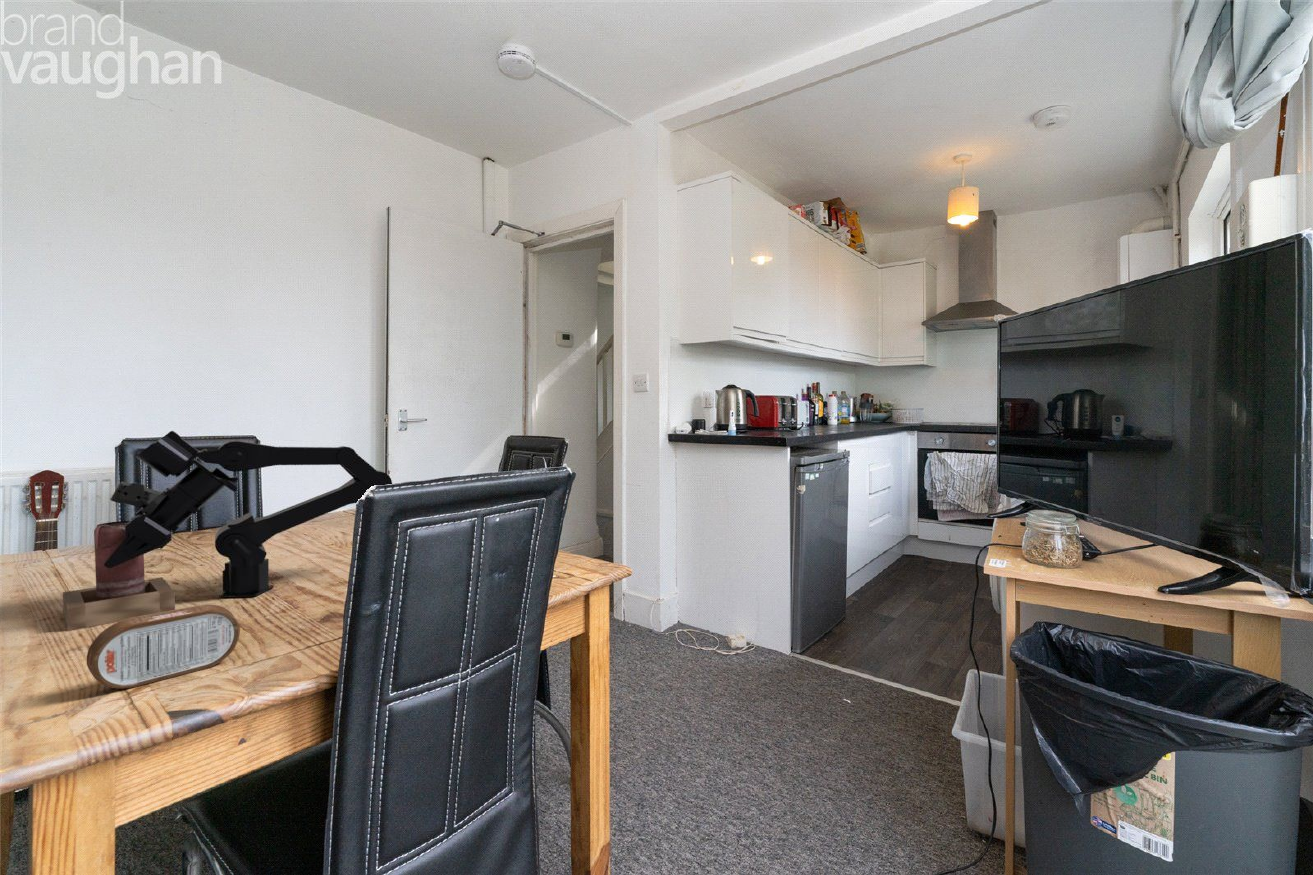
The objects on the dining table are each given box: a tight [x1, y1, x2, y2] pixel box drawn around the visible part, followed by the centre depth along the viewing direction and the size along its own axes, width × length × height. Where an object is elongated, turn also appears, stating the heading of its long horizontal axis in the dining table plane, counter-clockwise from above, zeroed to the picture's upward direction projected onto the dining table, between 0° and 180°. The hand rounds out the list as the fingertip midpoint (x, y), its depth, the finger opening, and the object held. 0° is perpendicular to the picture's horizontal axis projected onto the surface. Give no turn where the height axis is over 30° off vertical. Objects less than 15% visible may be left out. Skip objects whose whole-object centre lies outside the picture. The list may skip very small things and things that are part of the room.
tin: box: [86, 603, 241, 690], centre depth 73 cm, size 15×3×8 cm, turn 140°
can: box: [93, 520, 146, 601], centre depth 98 cm, size 6×6×14 cm
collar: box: [62, 577, 176, 632], centre depth 98 cm, size 13×13×4 cm
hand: (108, 563), depth 97 cm, fingers closed on can, 5 cm apart
